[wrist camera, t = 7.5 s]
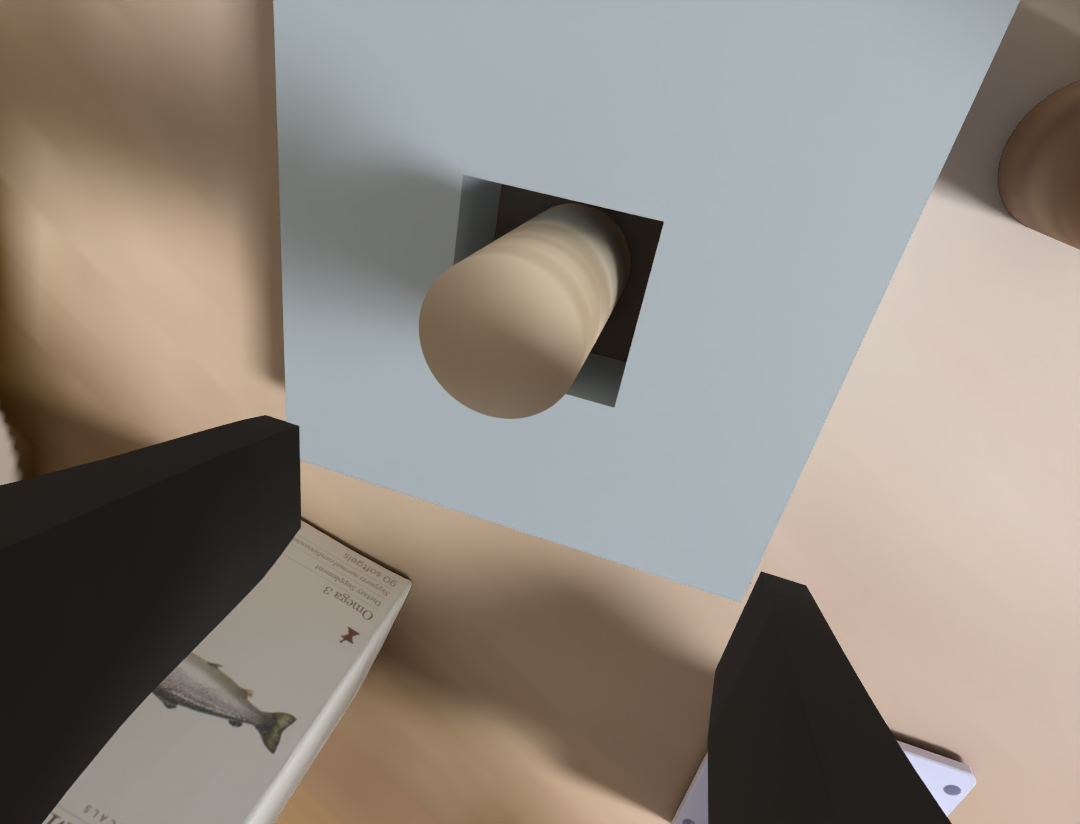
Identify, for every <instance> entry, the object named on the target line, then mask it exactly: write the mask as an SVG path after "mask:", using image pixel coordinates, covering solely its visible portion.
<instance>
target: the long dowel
mask: <svg viewBox="0 0 1080 824" xmlns="http://www.w3.org/2000/svg"><path fill="white" fill-rule="evenodd" d="M630 266H631V260H630V252H629V248H628V244H627V242H626V239H625V237H624V235H623V233H622V231H621V230H620V229H619V227H618V226H617V224H616V223H615V222H614V221H613V220H612V219H611V218H610V217H608V216H607V215H606V214H604V213H603V212H601V211H600V210H598V209H595V208H593V207H591V206H587V205H584V204H577V203H568V204H561V205H557V206H554V207H551V208H549V209H547V210H545V211H544V212H542V213H540V214H539V215H537V216H535V217H534V218H532V219H530V220H528V221H527V222H525V223H523V224H522V225H520V226H518V227H517V228H515V229H513V230H512V231H510V232H508V233H507V234H505V235H503V236H502V237H500V238H498V239H497V240H495V241H493V242H492V243H490V244H488V245H487V246H485V247H483V248H482V249H480V250H478V251H477V252H475V253H473V254H472V255H470V256H468V257H467V258H465V259H463V260H462V261H460V262H458V263H457V264H455V265H453V266H452V267H450V268H449V269H447V270H446V271H445V272H443V273H442V274H441V275H440V276H439V277H438V278H437V279H436V280H435V282H434V283H433V284H432V285H431V287H430V289H429V290H428V292H427V294H426V296H425V298H424V301H423V303H422V307H421V311H420V317H419V338H420V344H421V348H422V352H423V355H424V358H425V360H426V363H427V365H428V367H429V369H430V371H431V372H432V374H433V375H434V377H435V378H436V380H437V381H438V383H439V384H440V385H441V386H442V387H443V388H444V390H445V391H447V392H448V393H449V394H450V395H451V396H452V397H453V398H454V399H456V400H457V401H458V402H460V403H461V404H463V405H464V406H466V407H468V408H469V409H472V410H474V411H476V412H478V413H481V414H484V415H487V416H491V417H495V418H503V419H519V418H525V417H530V416H533V415H536V414H539V413H541V412H543V411H545V410H547V409H548V408H550V407H552V406H553V405H555V404H556V403H557V402H558V401H559V400H560V399H561V398H562V397H563V396H564V395H565V394H566V393H567V391H568V390H569V388H570V387H571V385H572V384H573V382H574V380H575V378H576V376H577V375H578V373H579V371H580V369H581V367H582V366H583V364H584V362H585V360H586V358H587V357H588V355H589V353H590V351H591V349H592V347H593V346H594V344H595V342H596V340H597V338H598V337H599V335H600V333H601V331H602V329H603V328H604V326H605V324H606V322H607V320H608V318H609V317H610V315H611V313H612V311H613V309H614V308H615V306H616V304H617V302H618V300H619V299H620V297H621V295H622V293H623V291H624V289H625V287H626V285H627V282H628V279H629V275H630Z"/></svg>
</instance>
